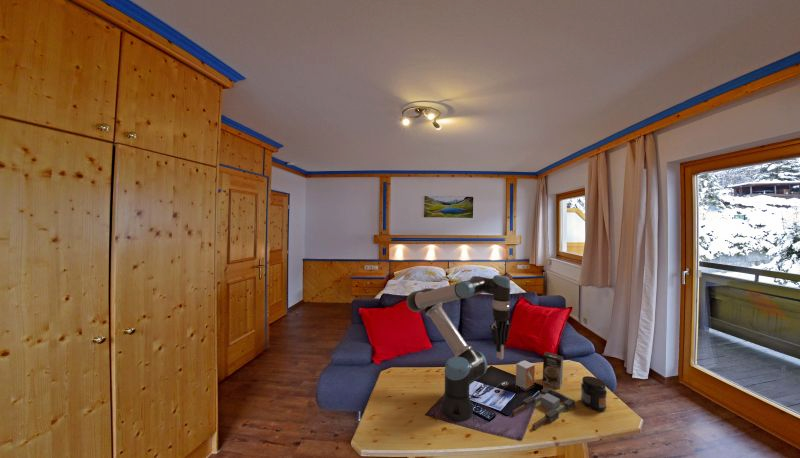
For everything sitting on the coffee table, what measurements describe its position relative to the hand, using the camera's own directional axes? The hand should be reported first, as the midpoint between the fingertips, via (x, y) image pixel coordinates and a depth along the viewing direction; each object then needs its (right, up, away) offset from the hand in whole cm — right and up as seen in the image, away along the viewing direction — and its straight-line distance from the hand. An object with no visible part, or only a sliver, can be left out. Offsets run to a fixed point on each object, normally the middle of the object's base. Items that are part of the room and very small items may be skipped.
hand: (500, 357), depth 131 cm
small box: (+22, -27, +22) cm, 41 cm away
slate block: (+27, -27, +6) cm, 38 cm away
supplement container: (+50, -27, +8) cm, 57 cm away
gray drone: (+22, -27, +3) cm, 35 cm away
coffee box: (+39, -27, +26) cm, 54 cm away
